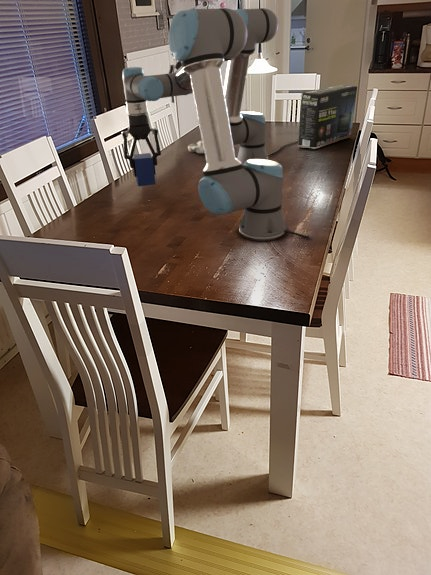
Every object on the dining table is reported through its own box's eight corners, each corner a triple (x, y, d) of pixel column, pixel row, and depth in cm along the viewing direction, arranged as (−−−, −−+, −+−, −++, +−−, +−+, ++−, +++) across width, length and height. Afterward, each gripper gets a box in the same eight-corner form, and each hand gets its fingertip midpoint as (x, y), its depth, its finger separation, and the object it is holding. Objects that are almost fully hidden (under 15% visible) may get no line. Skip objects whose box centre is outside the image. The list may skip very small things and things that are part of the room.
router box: (314, 151, 231) (318, 94, 217) (296, 148, 237) (299, 92, 224) (352, 138, 251) (358, 85, 238) (335, 135, 258) (340, 83, 245)
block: (136, 181, 185) (132, 154, 179) (152, 179, 186) (150, 152, 181) (138, 186, 179) (134, 159, 174) (155, 184, 181) (152, 157, 175)
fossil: (211, 149, 226) (191, 129, 229) (201, 167, 233) (181, 148, 236) (230, 147, 240) (211, 129, 243) (220, 164, 247) (201, 146, 250)
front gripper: (111, 117, 164) (120, 180, 176) (165, 113, 168) (171, 174, 180) (109, 114, 170) (118, 174, 182) (162, 109, 174) (167, 169, 186)
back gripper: (158, 54, 208) (162, 104, 219) (211, 51, 213) (213, 100, 224) (155, 53, 214) (160, 102, 225) (207, 50, 219) (209, 98, 230)
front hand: (144, 174), depth 181 cm, fingers closed on block, 7 cm apart
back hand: (186, 101), depth 225 cm, fingers open, 13 cm apart
